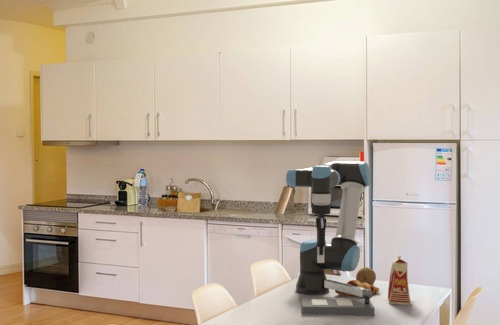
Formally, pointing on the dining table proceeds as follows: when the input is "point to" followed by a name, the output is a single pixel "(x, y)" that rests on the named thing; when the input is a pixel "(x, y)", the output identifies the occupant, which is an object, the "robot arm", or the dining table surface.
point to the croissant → (359, 284)
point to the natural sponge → (366, 276)
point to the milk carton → (399, 283)
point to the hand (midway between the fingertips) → (320, 262)
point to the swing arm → (348, 288)
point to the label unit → (338, 306)
